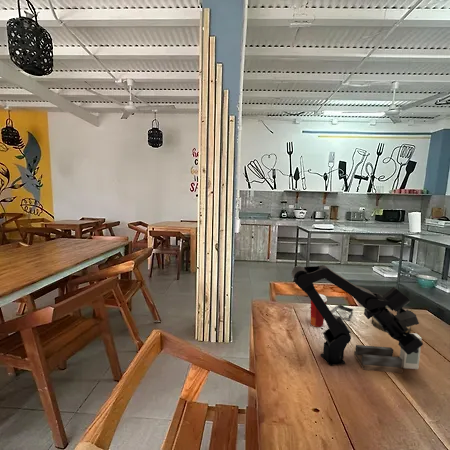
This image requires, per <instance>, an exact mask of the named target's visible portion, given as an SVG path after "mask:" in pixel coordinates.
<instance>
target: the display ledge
mask: <svg viewBox="0 0 450 450" xmlns="http://www.w3.org/2000/svg"><path fill="white" fill-rule="evenodd" d="M353 354H354V357H355V358H356V360H357V361H358V363H359V365H360V366H361V368H362V369H363V370H366V371H374V372H375V371H376V372H387V373H398V374H399V373H400V374H403V369H404V368H403V367H402V359H401V358H400V356H394V349H393V347H387V346H378V345H377V346H375V345H365V344H364V345H363V344H362V345H361V344H356V345H355V350H354V353H353Z"/></svg>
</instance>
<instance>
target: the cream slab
mask: <svg viewBox="0 0 450 450" xmlns="http://www.w3.org/2000/svg"><path fill="white" fill-rule="evenodd" d="M410 334H414V335H415V336H416V337H417V338H419V339H420V340H421V342H422V343H423V341H422V340H423V338H422V337H421V336H420V335H419V334H418V333H415V332H414V333H413V332H410ZM403 335H404V334H403ZM421 348H422V346H421V347H419V348H418V351H419V352H418V353H414V352H412V353H411V354H407V353H406V352H405V351H404V350H403V349H402V348H401V347H400V353H399V357H400V358H401V359H402V369H411V370H419V366H420V358H421Z"/></svg>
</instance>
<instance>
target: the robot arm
mask: <svg viewBox="0 0 450 450" xmlns="http://www.w3.org/2000/svg"><path fill="white" fill-rule="evenodd" d="M291 276H292V278H293V281H294V283H295V284H296V286H297V287H298V288H299V289H301V291H303V292H304V293H305V294H306V295H307V296H308V298H309V299H310V302H311V301H312V302H313V304H314V305H315V307H316V308H317V309H318V311H319V312H320V314H321V315H322V317H323V318H324V321H325V324H326V326H327V327H328V328H327V329H326V330H325V331H324V332H323V333H322V334H323V337H324V339H325V342H323V349H322V350H323V352H322V353H320V357H321V358H322V359H323V360H324V361H325V362H326V363H327V364H328V365H329V366H337V365H343V364H346V360H344V355H345V353H344V352H345V349H346V347H347V345H348V344H349V343H350V342H351V339H352V335H351V334H352V332H351V331H350V329H349V328H348V326H347V324H346V323H345V322H344V320H343V319H341V318H340V317H341V316H339V315H338V316H339V317H338V318H336V317H335V316H334V315H335V314H334V313H333V314H334V315H333V314H332V313H331V311H330V308H329V307H328V305H327V303H326V304H325V302H324V301H323V299H322V298H321V297H320V295H319V294H320V293H319V292H318V291H317V289H316V288H315V285H314V283H317V282H318V281H321V280H326V281H328V282H329V283H331V284H333V285H334V286H336V287H337V288H339V289H340V290H342V291H343V292H345V293H347V294H348V295H350V296H351V297H352V298H353V299H354V300H355V301H357V303H359V304H360V306H362V307H363V308H364V311H363V315H364V316H365V318H366V319H368V320H369V319H372V316H373V317H374V319H375V320H376V321H377V322H378V323H379V325H380V326H381V327H382V328H383V329H384V330H385V331H387V332H388V333H387V332H386V333H387V334H388V335H389V337H390V338H392V339H393V340H395V341H397V342H398V344H397V345H398V346H399V347H400V349H401V348H402V349H403V350H404V351H405V352H406V353H407V354H411V353H412V352H414V353H418V352H419V351H418V348H419V347H421V348H422V347H423V345H424V343H423V341H422V342H421V340H420V339H419V338H417V337H416V336H415V335H414V334H410V333H411V332H410V333H409V332H405V331H407V330H408V328H407V327H409V326H411V327H413V326H415V325H419V324H420V322H419V319H418V316H417V314H415V313H414V312H413V311H412V310H409V309H404V307H406V305H408V304H409V303H410V302H411V301H410V299H409V298H408V296H406V295H404V294H403V293H402V292H401V291H400V290H398V288H397V287H395V286H393V287H391V289H389V290H388V292H386V293H385V294H384V295H381V294H380V293H376V292H371V291H370V290H369V289H368V288H364V287H362V286H360V285H356V284H354V283H352V282H350V281H349V280H348V279H346V278H344V277H343V276H341V275H340V274H338V273H337V272H335V271H333V270H331V269H330V268H329V267H328V266H327V265H325V264H321V265H316V266H315V265H312V266H311V265H309V266H300V265H299V266H298V265H297V266H296V267H294V268H293V269H292V271H291ZM391 311H392V312H393V311H394V312H396V314H394V313H392V312H391ZM403 334H404V335H403Z"/></svg>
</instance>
